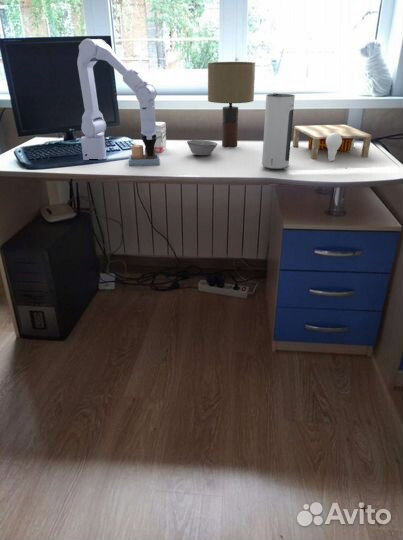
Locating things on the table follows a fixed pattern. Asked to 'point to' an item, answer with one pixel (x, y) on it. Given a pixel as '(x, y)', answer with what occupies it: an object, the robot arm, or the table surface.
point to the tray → (144, 161)
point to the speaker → (277, 130)
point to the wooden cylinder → (137, 152)
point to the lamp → (230, 93)
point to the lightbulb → (333, 145)
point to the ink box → (160, 137)
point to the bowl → (201, 147)
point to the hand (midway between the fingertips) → (150, 154)
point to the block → (150, 156)
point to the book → (345, 146)
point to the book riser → (326, 130)
